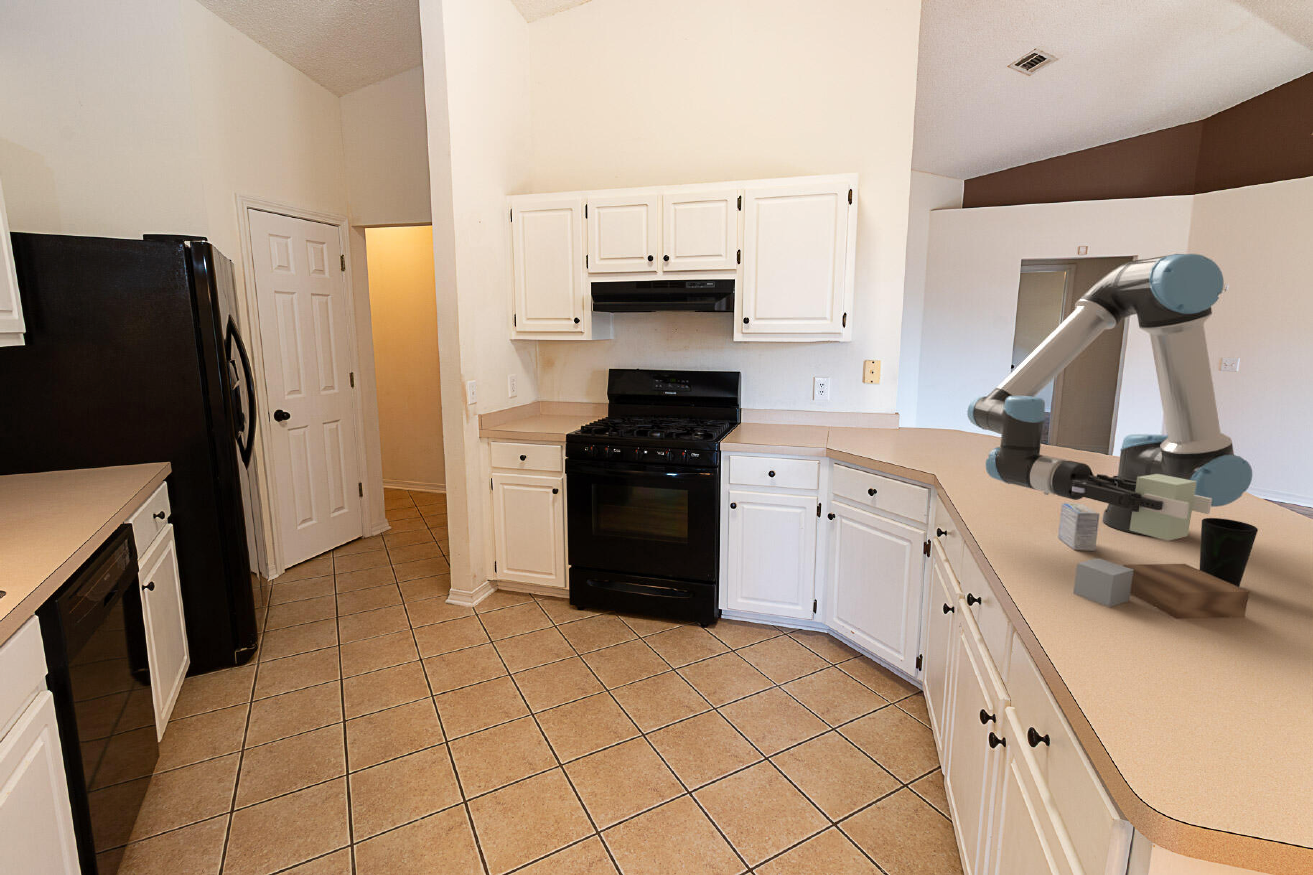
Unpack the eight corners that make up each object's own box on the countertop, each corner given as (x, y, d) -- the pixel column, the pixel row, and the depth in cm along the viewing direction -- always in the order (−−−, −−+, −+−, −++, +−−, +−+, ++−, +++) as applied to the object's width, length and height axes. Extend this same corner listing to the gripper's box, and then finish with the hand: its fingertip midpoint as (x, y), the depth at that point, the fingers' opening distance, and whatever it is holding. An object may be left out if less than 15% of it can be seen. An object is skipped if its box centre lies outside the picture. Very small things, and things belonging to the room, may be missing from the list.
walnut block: (1180, 588, 113) (1184, 563, 113) (1244, 619, 102) (1249, 591, 101) (1119, 589, 113) (1122, 564, 112) (1175, 620, 101) (1180, 592, 100)
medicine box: (1095, 551, 131) (1100, 513, 130) (1072, 550, 132) (1077, 512, 130) (1078, 539, 139) (1083, 503, 137) (1056, 538, 140) (1061, 502, 138)
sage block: (1149, 525, 112) (1157, 473, 110) (1187, 536, 106) (1196, 481, 105) (1129, 530, 110) (1137, 477, 108) (1167, 540, 104) (1176, 484, 102)
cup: (1232, 579, 117) (1243, 520, 115) (1255, 595, 110) (1268, 532, 108) (1183, 573, 119) (1193, 516, 117) (1203, 589, 112) (1214, 528, 110)
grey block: (1093, 588, 113) (1097, 558, 112) (1128, 601, 108) (1133, 569, 107) (1073, 593, 111) (1077, 563, 110) (1108, 607, 105) (1113, 575, 104)
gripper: (1089, 490, 128) (1225, 522, 107) (1028, 500, 120) (1161, 537, 99) (1094, 456, 126) (1232, 481, 105) (1032, 464, 119) (1168, 493, 98)
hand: (1198, 508), depth 102 cm, fingers closed on sage block, 6 cm apart
